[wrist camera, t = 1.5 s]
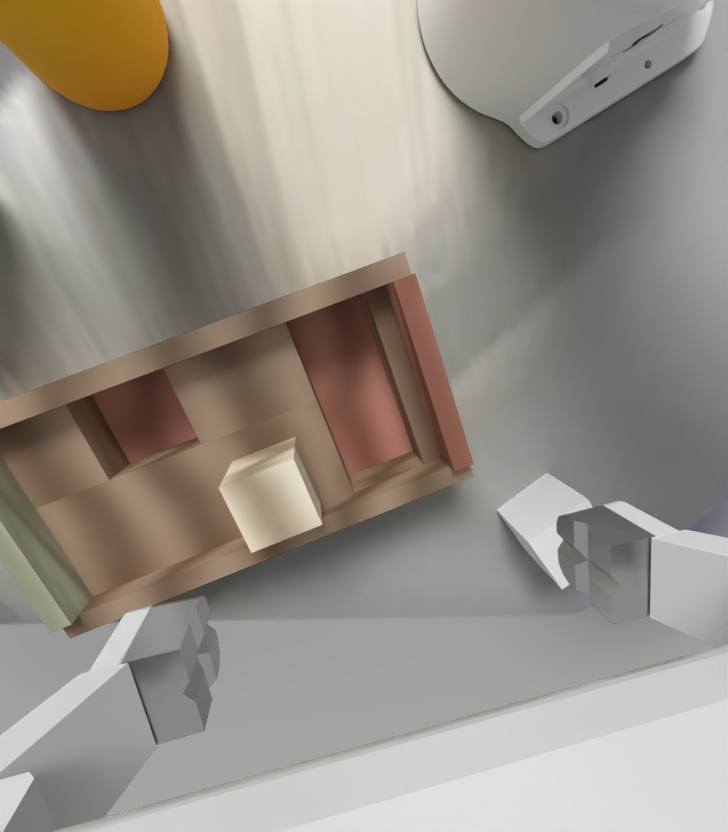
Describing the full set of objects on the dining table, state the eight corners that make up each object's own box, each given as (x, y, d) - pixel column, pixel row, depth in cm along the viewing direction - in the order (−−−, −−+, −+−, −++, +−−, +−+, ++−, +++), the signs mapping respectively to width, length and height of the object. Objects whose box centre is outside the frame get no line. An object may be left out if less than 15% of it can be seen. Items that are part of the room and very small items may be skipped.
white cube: (495, 509, 39) (528, 542, 34) (546, 471, 39) (587, 498, 33) (526, 551, 41) (562, 590, 35) (575, 515, 41) (619, 548, 35)
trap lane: (386, 263, 33) (407, 249, 26) (447, 451, 37) (478, 481, 30) (-5, 409, 31) (-91, 434, 24) (108, 586, 36) (62, 649, 29)
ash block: (295, 436, 31) (293, 458, 26) (319, 493, 32) (322, 524, 27) (232, 461, 31) (218, 488, 26) (259, 517, 32) (251, 553, 27)
